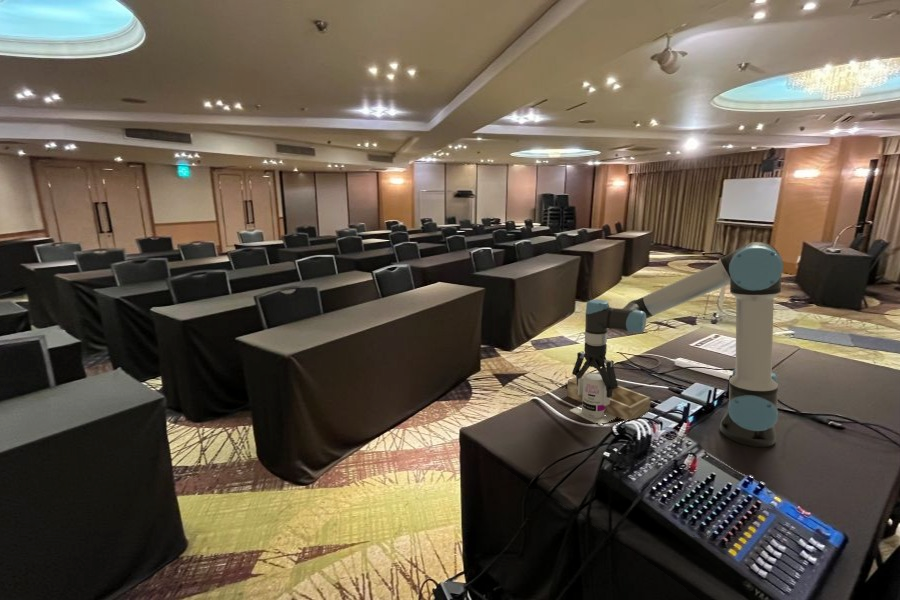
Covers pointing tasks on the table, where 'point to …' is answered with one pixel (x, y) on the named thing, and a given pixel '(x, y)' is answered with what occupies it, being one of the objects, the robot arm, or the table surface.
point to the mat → (594, 420)
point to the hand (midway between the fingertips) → (593, 399)
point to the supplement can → (593, 395)
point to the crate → (633, 399)
